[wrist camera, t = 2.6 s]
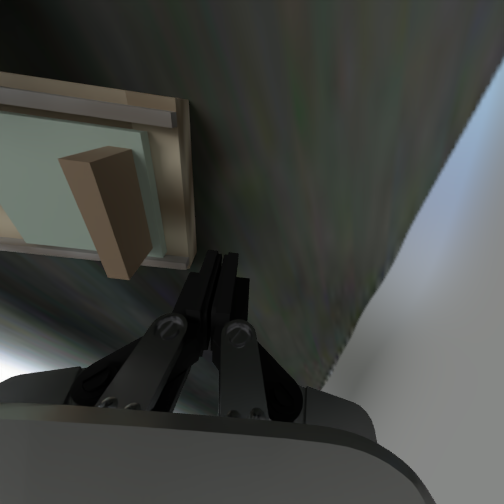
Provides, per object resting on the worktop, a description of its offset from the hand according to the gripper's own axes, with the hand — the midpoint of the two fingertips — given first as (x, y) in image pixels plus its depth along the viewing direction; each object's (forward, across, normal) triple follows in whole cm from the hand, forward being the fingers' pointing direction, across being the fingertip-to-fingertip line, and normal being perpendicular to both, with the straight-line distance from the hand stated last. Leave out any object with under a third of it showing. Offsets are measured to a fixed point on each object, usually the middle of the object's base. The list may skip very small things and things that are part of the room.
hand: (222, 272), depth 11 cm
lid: (+7, +12, -1) cm, 14 cm away
